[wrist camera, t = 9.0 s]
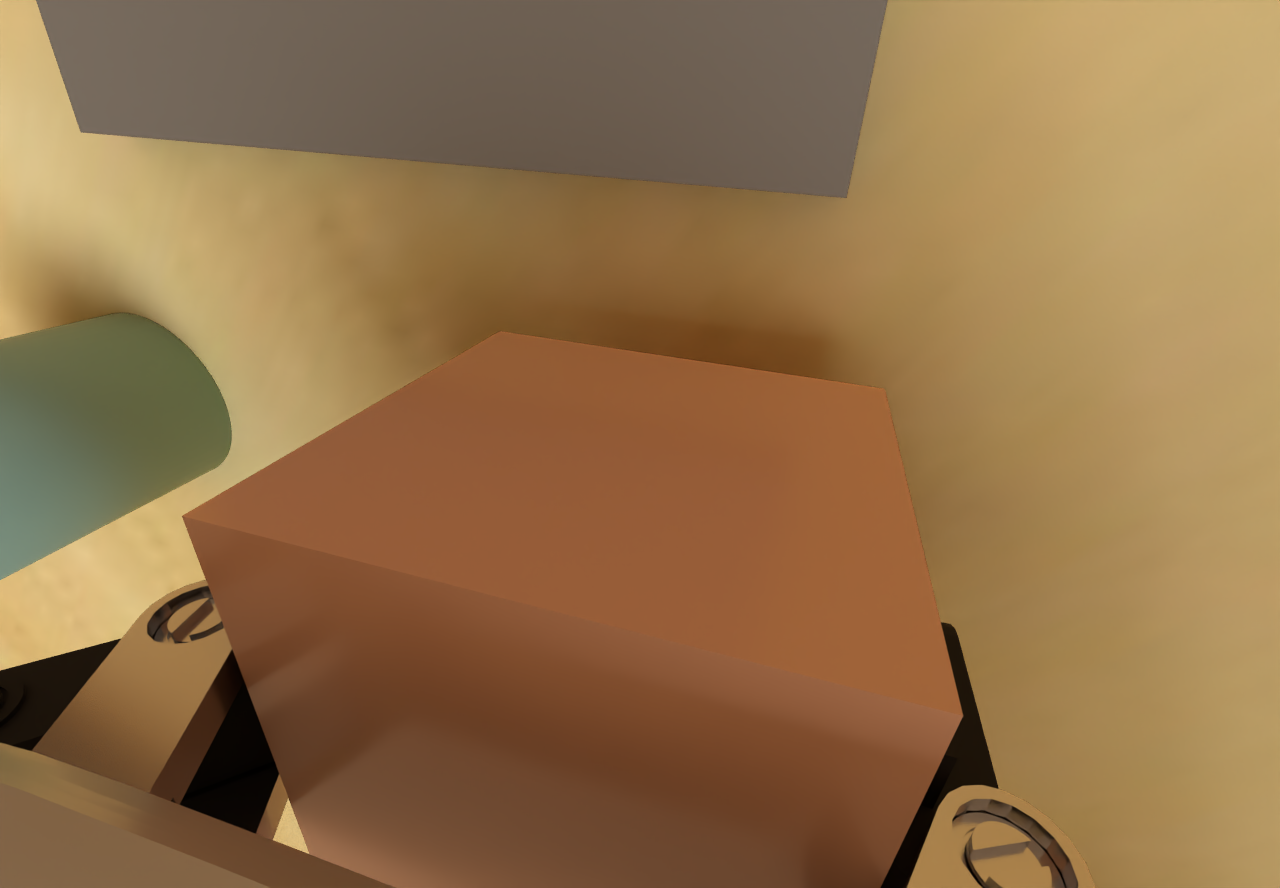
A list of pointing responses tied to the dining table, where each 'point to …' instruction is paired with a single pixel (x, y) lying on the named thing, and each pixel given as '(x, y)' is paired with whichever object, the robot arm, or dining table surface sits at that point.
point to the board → (490, 82)
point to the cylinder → (98, 429)
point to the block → (592, 626)
